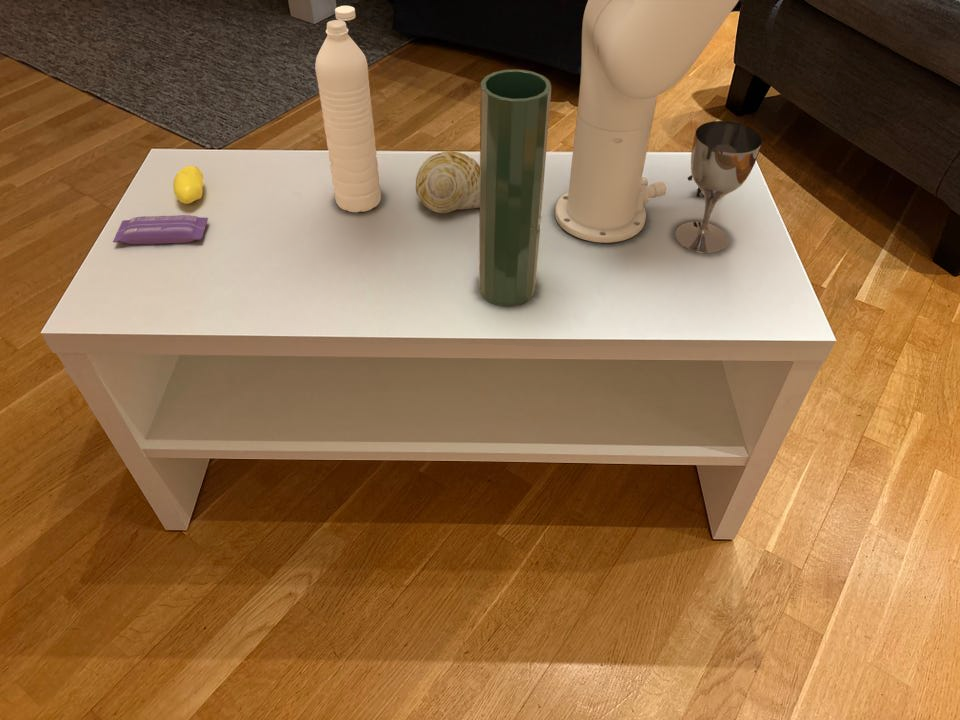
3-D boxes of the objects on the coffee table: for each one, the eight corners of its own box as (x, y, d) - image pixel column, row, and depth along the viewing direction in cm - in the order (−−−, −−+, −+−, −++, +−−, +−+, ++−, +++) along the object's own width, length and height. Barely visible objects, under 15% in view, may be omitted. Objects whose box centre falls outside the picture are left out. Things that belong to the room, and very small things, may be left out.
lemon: (211, 180, 109) (204, 157, 106) (202, 211, 104) (194, 187, 101) (182, 181, 109) (174, 158, 106) (171, 212, 103) (163, 188, 101)
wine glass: (660, 227, 102) (682, 127, 92) (709, 215, 104) (736, 116, 94) (692, 260, 97) (719, 158, 86) (742, 247, 99) (775, 146, 88)
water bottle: (375, 215, 104) (356, 34, 86) (330, 211, 104) (301, 31, 86) (388, 181, 110) (372, 6, 92) (346, 178, 110) (321, 4, 93)
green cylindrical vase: (518, 265, 96) (529, 64, 77) (544, 296, 92) (563, 92, 73) (469, 279, 94) (469, 77, 75) (494, 312, 90) (501, 106, 71)
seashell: (494, 176, 110) (493, 137, 100) (482, 235, 107) (480, 200, 97) (427, 166, 110) (420, 127, 101) (414, 224, 108) (405, 189, 98)
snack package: (124, 226, 101) (114, 248, 98) (120, 214, 100) (109, 236, 96) (210, 223, 102) (203, 245, 99) (206, 211, 101) (199, 233, 97)
